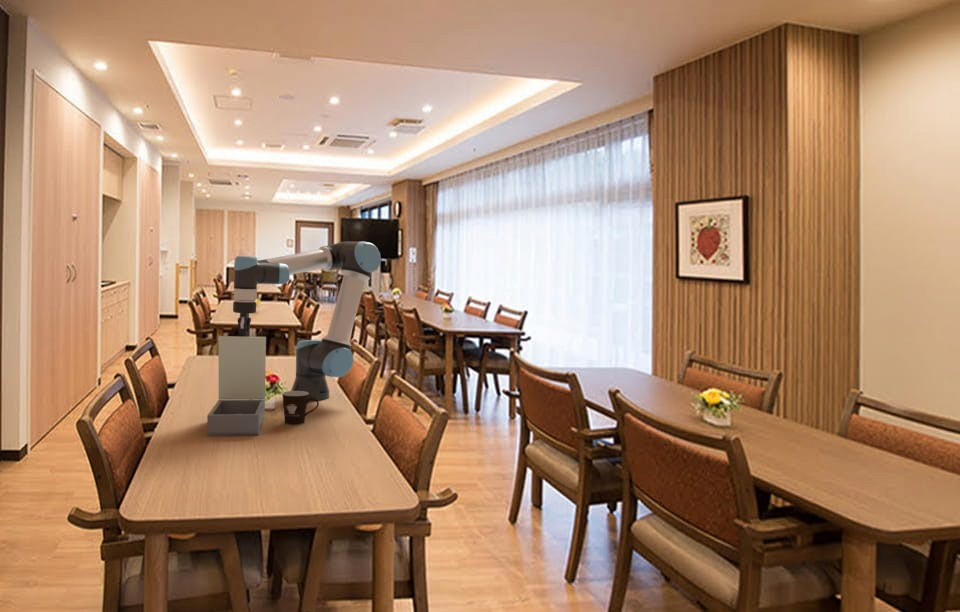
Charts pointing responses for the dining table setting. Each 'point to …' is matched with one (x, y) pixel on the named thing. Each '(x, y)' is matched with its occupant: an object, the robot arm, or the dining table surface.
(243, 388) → the box lid
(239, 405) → the open storage box
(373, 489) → the dining table surface
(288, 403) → the coffee mug
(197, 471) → the dining table surface
